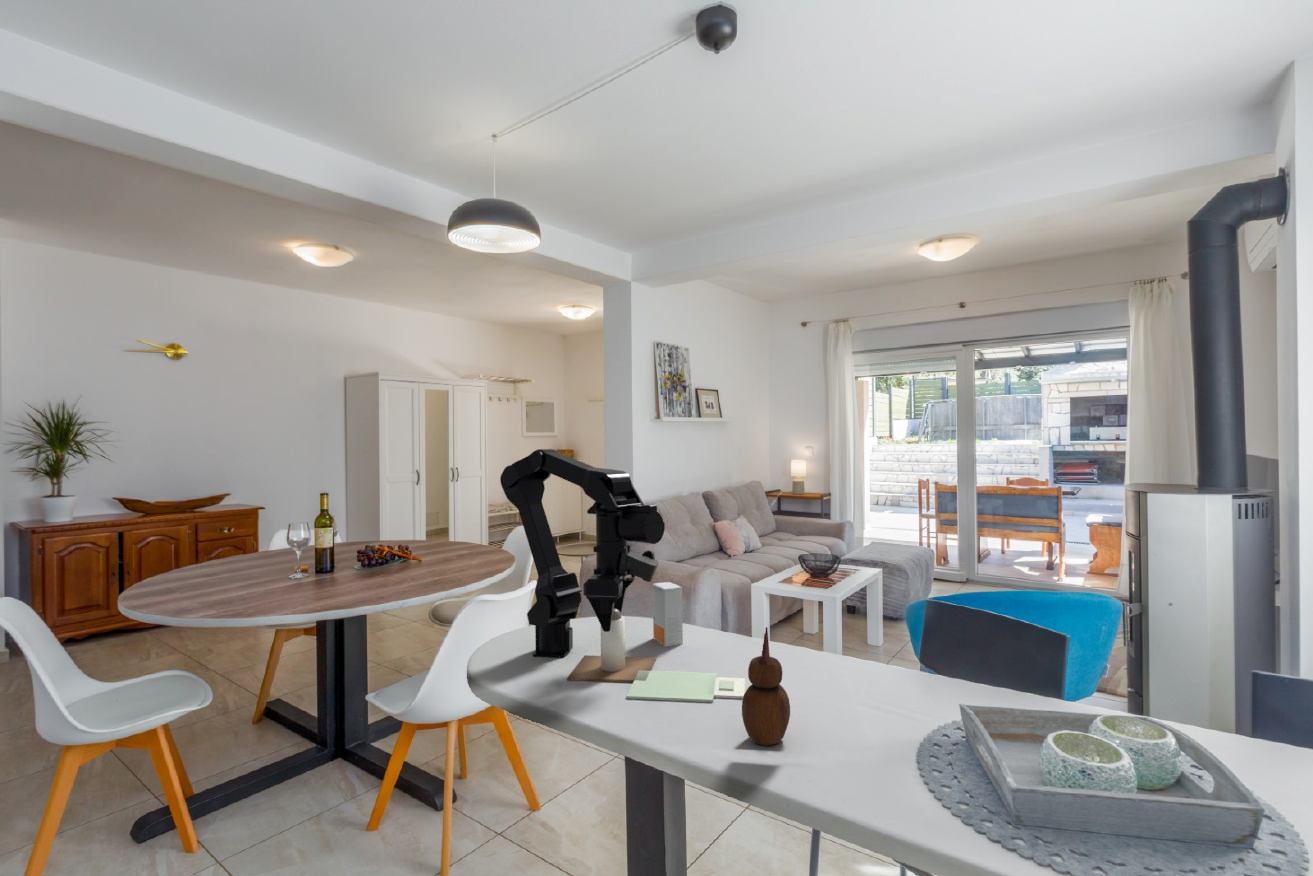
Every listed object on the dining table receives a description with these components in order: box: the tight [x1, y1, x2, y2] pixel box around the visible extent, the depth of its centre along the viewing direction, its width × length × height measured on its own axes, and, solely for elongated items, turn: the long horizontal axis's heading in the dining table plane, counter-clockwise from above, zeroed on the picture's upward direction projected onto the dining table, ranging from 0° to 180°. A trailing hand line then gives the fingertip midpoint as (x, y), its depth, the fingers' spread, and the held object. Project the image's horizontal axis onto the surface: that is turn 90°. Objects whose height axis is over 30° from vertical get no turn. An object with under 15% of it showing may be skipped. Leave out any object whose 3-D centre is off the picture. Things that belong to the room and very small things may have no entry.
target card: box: [709, 676, 746, 700], centre depth 106 cm, size 6×8×1 cm
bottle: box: [600, 608, 626, 672], centre depth 116 cm, size 4×4×11 cm
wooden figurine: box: [741, 626, 791, 746], centre depth 88 cm, size 7×6×15 cm
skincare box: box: [652, 581, 684, 647], centre depth 132 cm, size 6×4×12 cm
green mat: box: [626, 670, 718, 703], centre depth 107 cm, size 14×12×1 cm
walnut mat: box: [566, 654, 657, 684], centre depth 116 cm, size 14×12×1 cm
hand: (612, 624), depth 116 cm, fingers open, 9 cm apart
